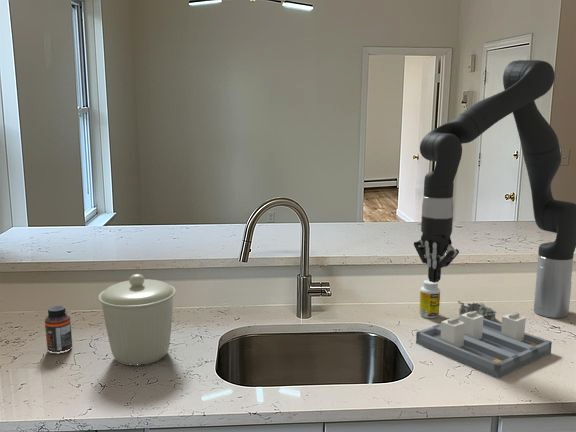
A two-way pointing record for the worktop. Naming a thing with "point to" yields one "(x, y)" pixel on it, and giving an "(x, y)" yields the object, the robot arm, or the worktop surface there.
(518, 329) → the white upright block
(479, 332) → the white tall block
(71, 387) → the worktop surface
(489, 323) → the switch board
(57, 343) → the supplement bottle
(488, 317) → the grey jagged lump
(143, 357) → the canister
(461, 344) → the tab
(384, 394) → the worktop surface
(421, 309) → the supplement bottle
